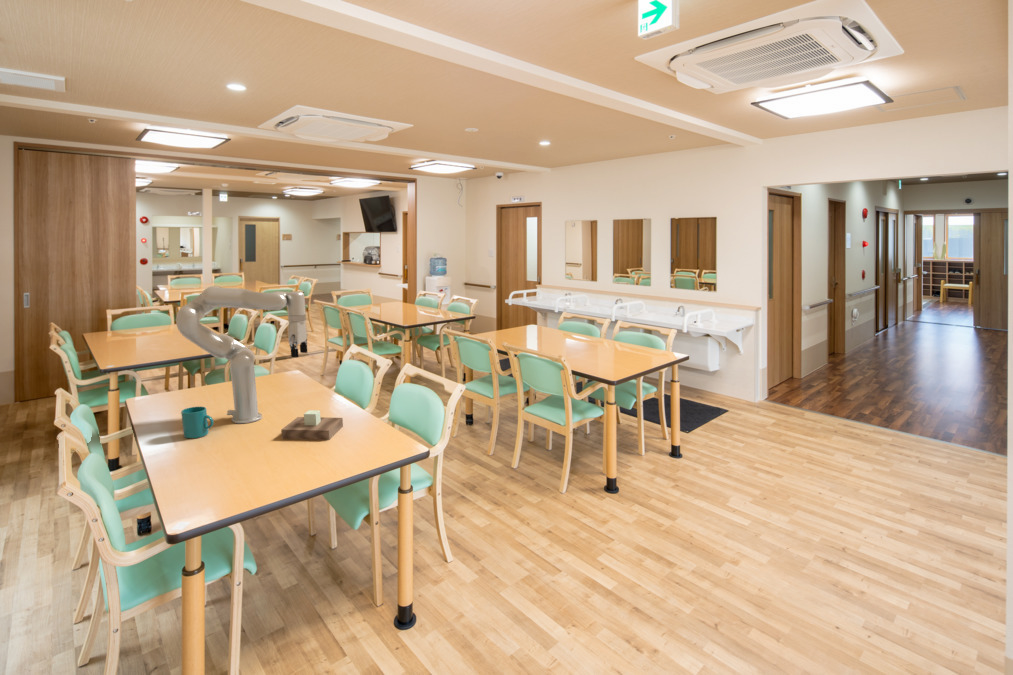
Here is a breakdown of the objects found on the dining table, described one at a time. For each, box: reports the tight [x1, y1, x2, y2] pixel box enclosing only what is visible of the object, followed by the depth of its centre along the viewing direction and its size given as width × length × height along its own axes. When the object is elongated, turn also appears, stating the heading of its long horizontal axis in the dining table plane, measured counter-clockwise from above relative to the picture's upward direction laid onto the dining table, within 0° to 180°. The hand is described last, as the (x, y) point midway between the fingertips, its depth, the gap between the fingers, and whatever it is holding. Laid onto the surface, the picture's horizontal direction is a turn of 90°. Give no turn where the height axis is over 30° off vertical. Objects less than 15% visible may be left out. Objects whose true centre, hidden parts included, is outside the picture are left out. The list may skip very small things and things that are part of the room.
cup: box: [180, 406, 215, 439], centre depth 223 cm, size 9×12×11 cm
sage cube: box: [303, 409, 321, 426], centre depth 227 cm, size 5×5×5 cm
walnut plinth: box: [280, 416, 344, 441], centre depth 228 cm, size 20×16×4 cm
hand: (299, 354), depth 248 cm, fingers open, 9 cm apart
